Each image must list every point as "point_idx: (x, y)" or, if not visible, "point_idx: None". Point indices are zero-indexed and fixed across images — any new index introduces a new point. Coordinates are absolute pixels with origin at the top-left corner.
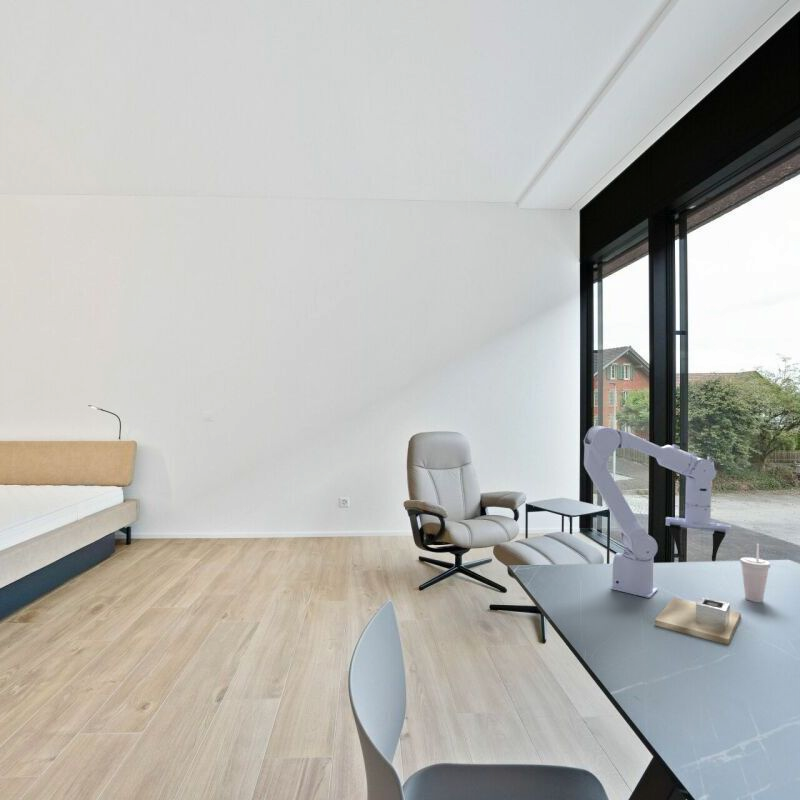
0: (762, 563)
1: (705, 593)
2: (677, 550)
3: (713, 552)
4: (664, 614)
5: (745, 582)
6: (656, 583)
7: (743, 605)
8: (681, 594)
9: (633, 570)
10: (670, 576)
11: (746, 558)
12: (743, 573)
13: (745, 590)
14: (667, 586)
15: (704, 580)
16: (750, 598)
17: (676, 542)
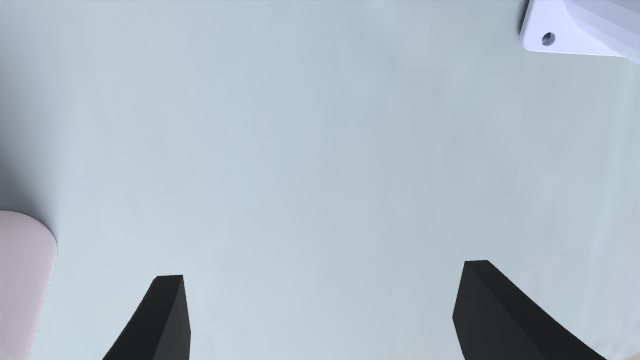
0: None
1: (251, 175)
2: (515, 286)
3: (149, 336)
4: None
5: (11, 287)
6: (513, 169)
7: (19, 105)
8: (374, 65)
9: None
10: (439, 314)
11: None
12: (5, 337)
13: (33, 256)
14: (455, 158)
15: (285, 355)
16: (13, 219)
17: (576, 346)
